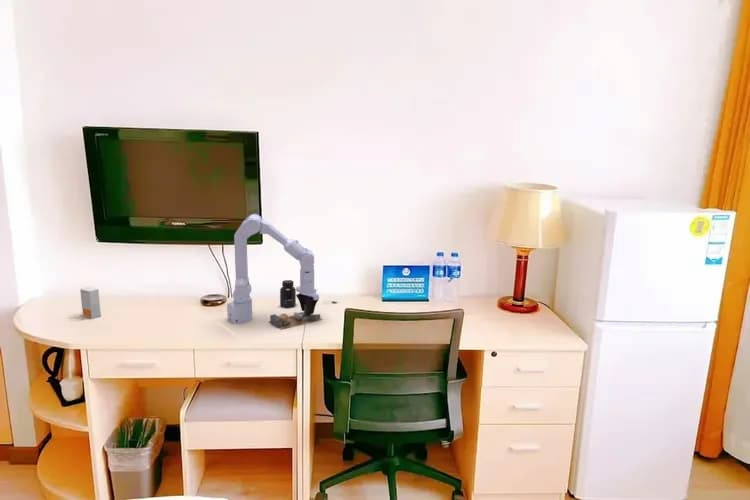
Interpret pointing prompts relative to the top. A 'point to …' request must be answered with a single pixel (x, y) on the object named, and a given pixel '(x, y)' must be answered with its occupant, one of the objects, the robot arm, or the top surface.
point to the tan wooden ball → (284, 318)
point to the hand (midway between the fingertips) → (307, 312)
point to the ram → (305, 314)
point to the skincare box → (90, 302)
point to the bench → (292, 321)
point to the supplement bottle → (287, 294)
